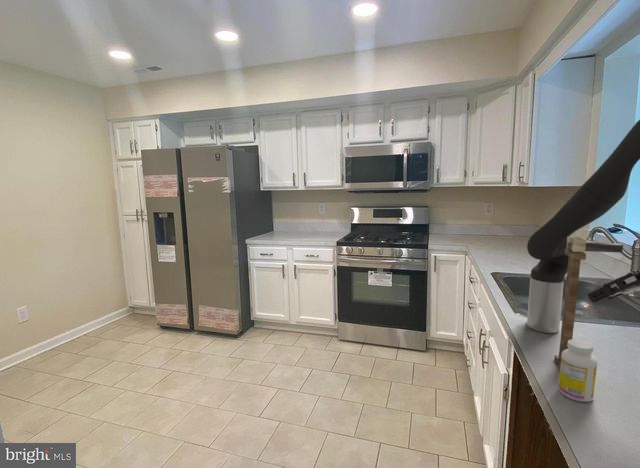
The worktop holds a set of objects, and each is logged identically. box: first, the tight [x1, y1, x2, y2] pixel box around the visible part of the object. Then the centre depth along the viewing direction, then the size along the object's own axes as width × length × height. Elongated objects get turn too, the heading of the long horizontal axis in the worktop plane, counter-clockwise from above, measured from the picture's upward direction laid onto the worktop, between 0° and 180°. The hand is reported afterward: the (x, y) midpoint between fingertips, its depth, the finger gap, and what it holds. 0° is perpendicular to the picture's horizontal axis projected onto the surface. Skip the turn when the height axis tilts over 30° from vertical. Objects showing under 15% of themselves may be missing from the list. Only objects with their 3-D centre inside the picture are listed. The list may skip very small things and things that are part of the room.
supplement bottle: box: [558, 338, 598, 403], centre depth 79 cm, size 7×7×13 cm
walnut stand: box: [554, 249, 587, 368], centre depth 89 cm, size 6×2×32 cm, turn 162°
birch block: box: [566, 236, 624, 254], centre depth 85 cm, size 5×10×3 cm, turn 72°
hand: (598, 297), depth 80 cm, fingers open, 8 cm apart
